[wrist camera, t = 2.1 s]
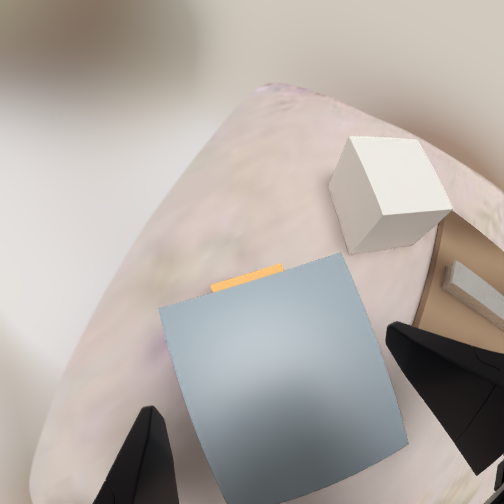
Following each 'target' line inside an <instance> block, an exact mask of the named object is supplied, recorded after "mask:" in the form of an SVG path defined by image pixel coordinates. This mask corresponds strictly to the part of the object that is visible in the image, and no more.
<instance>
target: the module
mask: <svg viewBox="0 0 504 504" xmlns="http://www.w3.org/2000/svg"><path fill="white" fill-rule="evenodd" d="M211 289H212V292H213V293H210V294H207V295H203V296H200V297H197V298H193V299H190V300H186V301H183V302H179V303H176V304H172V305H169V306H165V307H162V308H158V309H159V313H160V318H161V322H162V326H163V330H164V333H165V337H166V341H167V345H168V348H169V352H170V355H171V359H172V362H173V366H174V369H175V372H176V376H177V379H178V382H179V385H180V388H181V391H182V394H183V397H184V400H185V403H186V406H187V409H188V412H189V415H190V418H191V420H192V423H193V426H194V428H195V431H196V434H197V436H198V439H199V441H200V444H201V447H202V449H203V451H204V454H205V456H206V459H207V461H208V463H209V466H210V468H211V470H212V473H213V475H214V477H215V479H216V482H217V484H218V486H219V488H220V490H221V492H222V494H223V497H224V499H225V501H226V503H227V504H279V503H282V502H286V501H289V500H292V499H295V498H298V497H301V496H304V495H307V494H309V493H312V492H315V491H317V490H320V489H322V488H325V487H327V486H330V485H332V484H334V483H337V482H339V481H341V480H344V479H346V478H348V477H350V476H352V475H354V474H356V473H358V472H360V471H362V470H364V469H366V468H368V467H370V466H372V465H374V464H376V463H378V462H379V461H381V460H383V459H385V458H387V457H388V456H390V455H392V454H393V453H395V452H397V451H398V450H400V449H402V448H403V447H405V446H406V445H408V444H409V443H408V439H407V435H406V431H405V428H404V424H403V420H402V417H401V413H400V410H399V406H398V403H397V400H396V396H395V393H394V390H393V387H392V383H391V380H390V377H389V374H388V371H387V368H386V365H385V362H384V359H383V356H382V354H381V351H380V348H379V345H378V342H377V340H376V337H375V334H374V331H373V329H372V326H371V323H370V321H369V318H368V316H367V313H366V310H365V308H364V305H363V303H362V300H361V298H360V295H359V293H358V291H357V288H356V286H355V283H354V281H353V279H352V276H351V274H350V272H349V269H348V267H347V265H346V262H345V260H344V258H343V256H342V253H341V252H340V253H337V254H334V255H331V256H328V257H325V258H322V259H319V260H316V261H313V262H310V263H307V264H304V265H301V266H298V267H294V268H291V269H288V270H285V271H284V269H283V266H282V264H277V265H274V266H271V267H268V268H264V269H261V270H258V271H255V272H251V273H248V274H245V275H241V276H238V277H235V278H232V279H228V280H225V281H222V282H218V283H215V284H211Z"/></svg>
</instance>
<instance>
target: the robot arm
mask: <svg viewBox="0 0 504 504" xmlns="http://www.w3.org/2000/svg"><path fill="white" fill-rule="evenodd" d="M385 341H386V345H387V347H388V348H389V350H390V352H391V353H392V355H393V357H394V358H395V360H396V362H397V363H398V365H399V367H400V368H401V370H402V372H403V373H404V375H405V376H406V377H407V379H408V380H409V381H410V383H411V384H412V385H413V387H414V388H415V389H416V391H417V392H418V393H419V395H420V396H421V397H422V399H423V400H424V401H425V403H426V404H427V405H428V407H429V408H430V410H431V411H432V412H433V414H434V415H435V416H436V418H437V419H438V421H439V422H440V423H441V425H442V426H443V428H444V429H445V430H446V432H447V433H448V435H449V436H450V438H451V439H452V440H453V442H454V443H455V445H456V446H457V448H458V449H459V451H460V452H461V454H462V455H463V457H464V458H465V460H466V461H467V463H468V464H469V466H470V467H471V469H472V470H473V472H474V473H475V475H476V476H477V475H479V474H480V473H481V472H482V471H484V470H485V469H486V468H487V467H489V466H490V465H491V464H492V463H493V462H495V461H496V460H497V459H498V458H499V457H500V456H501V455H502V454H503V456H504V353H499V352H494V351H490V350H486V349H483V348H479V347H476V346H472V345H469V344H466V343H463V342H460V341H457V340H453V339H450V338H447V337H444V336H441V335H438V334H435V333H432V332H429V331H426V330H422V329H419V328H416V327H413V326H410V325H407V324H404V323H401V322H398V321H396V322H393V323H391V324H389V325H388V326H387V332H386V339H385ZM494 490H495V491H496V492H495V493H494V494H493V495H492V496H491V497H490V498H489V499H488V500H487V501H486V502H485V503H484V504H504V459H503V460H502V461H501V462H500V463H499V465H498V467H497V474H496V481H495V486H494ZM92 504H179V498H178V492H177V485H176V478H175V470H174V462H173V456H172V451H171V447H170V443H169V439H168V434H167V429H166V424H165V421H164V418H163V417H162V415H161V414H160V413H159V412H158V410H157V409H156V408H155V407H154V406H146V407H143V408H142V409H141V411H140V413H139V415H138V417H137V418H136V420H135V422H134V424H133V426H132V428H131V430H130V432H129V434H128V436H127V438H126V440H125V442H124V444H123V446H122V447H121V449H120V451H119V453H118V455H117V457H116V459H115V461H114V463H113V465H112V467H111V469H110V471H109V473H108V475H107V477H106V481H104V483H103V485H102V487H101V489H100V491H99V493H98V495H97V497H96V499H95V500H94V502H93V503H92Z"/></svg>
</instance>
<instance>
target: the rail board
mask: <svg viewBox="0 0 504 504" xmlns="http://www.w3.org/2000/svg"><path fill="white" fill-rule="evenodd" d="M412 326H413V327H416V328H419V329H422V330H426V331H429V332H432V333H435V334H438V335H441V336H444V337H447V338H450V339H453V340H457V341H460V342H463V343H466V344H469V345H472V346H476V347H479V348H483V349H486V350H490V351H494V352H499V353H504V252H503V251H502V250H501V249H500V248H499V247H498V246H496V245H495V244H494V243H493V242H492V241H491V240H489V239H488V238H487V237H486V236H485V235H483V234H482V233H481V232H480V231H478V230H477V229H476V228H475V227H473V226H472V225H471V224H470V223H468V222H467V221H466V220H464V219H463V218H462V217H460V216H459V215H458V214H456V213H455V212H454V211H451V212H450V213H449V214H447V215H446V216H445V217H444V218H443V219H442V220H441V221H440V222H439V225H438V231H437V236H436V241H435V246H434V251H433V255H432V259H431V264H430V268H429V272H428V276H427V280H426V283H425V287H424V290H423V294H422V297H421V301H420V304H419V307H418V310H417V313H416V317H415V320H414V322H413V325H412Z"/></svg>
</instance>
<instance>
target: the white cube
mask: <svg viewBox="0 0 504 504" xmlns="http://www.w3.org/2000/svg"><path fill="white" fill-rule="evenodd" d="M328 189H329V192H330V195H331V197H332V200H333V204H334V207H335V210H336V213H337V216H338V219H339V222H340V225H341V229H342V232H343V235H344V239H345V242H346V246H347V249H348V253H349V255H354V254H360V253H367V252H373V251H380V250H386V249H392V248H398V247H405V246H411V245H413V244H414V243H416V242H417V241H418V240H419V239H420V238H421V237H423V236H424V235H425V234H426V233H427V232H428V231H430V230H431V229H432V228H433V227H434V226H435V225H436V224H438V223H439V222H440V221H441V220H442V219H443V218H444V217H445V216H446V215H447V214H449V213H450V212H451V211H452V210H453V207H452V205H451V203H450V201H449V198H448V196H447V194H446V192H445V190H444V188H443V186H442V184H441V182H440V180H439V178H438V176H437V174H436V172H435V170H434V168H433V166H432V165H431V163H430V161H429V159H428V157H427V156H426V154H425V152H424V150H423V149H422V147H421V145H420V143H419V142H418V140H414V139H402V138H387V137H365V136H349V137H348V140H347V142H346V145H345V147H344V149H343V152H342V154H341V157H340V159H339V162H338V164H337V166H336V169H335V171H334V174H333V176H332V178H331V181H330V183H329V185H328Z"/></svg>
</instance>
